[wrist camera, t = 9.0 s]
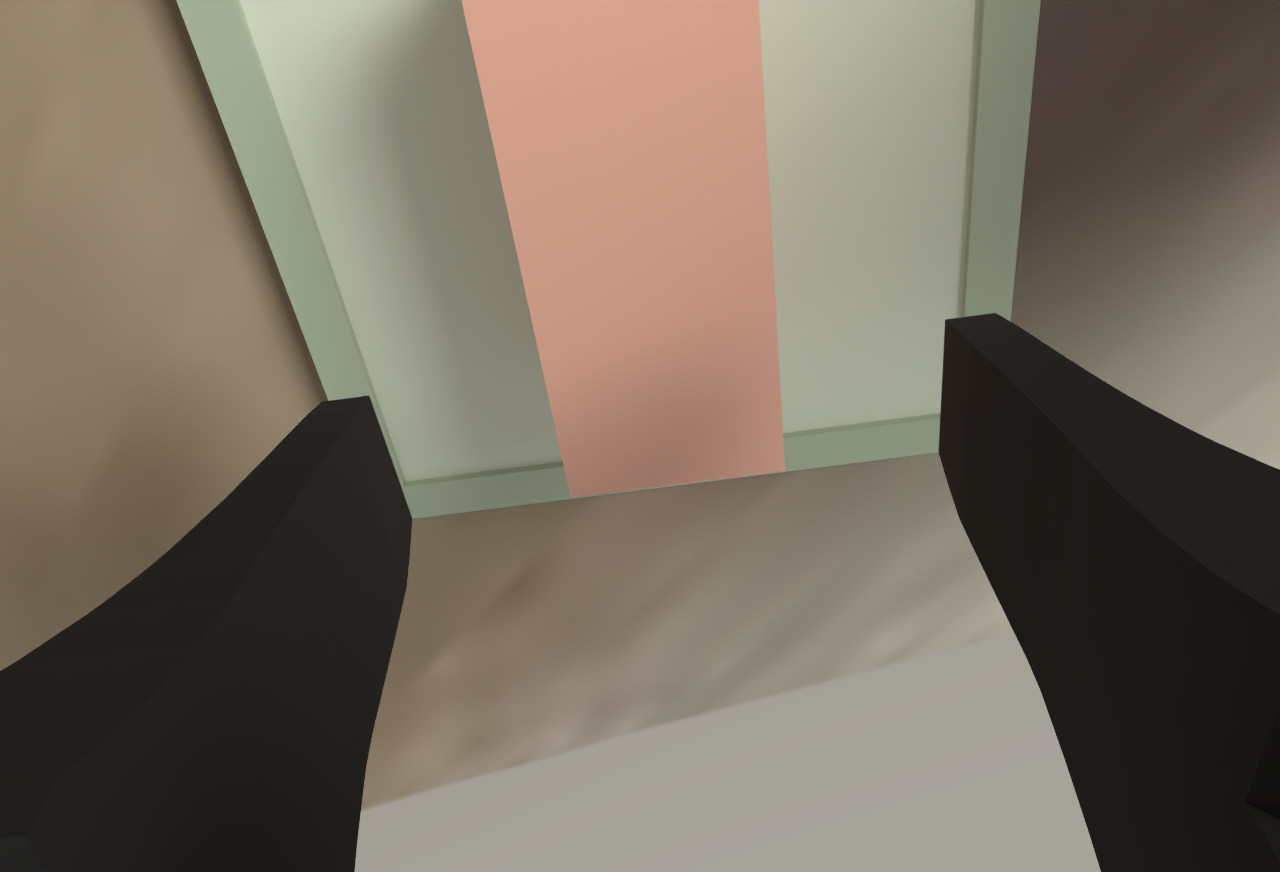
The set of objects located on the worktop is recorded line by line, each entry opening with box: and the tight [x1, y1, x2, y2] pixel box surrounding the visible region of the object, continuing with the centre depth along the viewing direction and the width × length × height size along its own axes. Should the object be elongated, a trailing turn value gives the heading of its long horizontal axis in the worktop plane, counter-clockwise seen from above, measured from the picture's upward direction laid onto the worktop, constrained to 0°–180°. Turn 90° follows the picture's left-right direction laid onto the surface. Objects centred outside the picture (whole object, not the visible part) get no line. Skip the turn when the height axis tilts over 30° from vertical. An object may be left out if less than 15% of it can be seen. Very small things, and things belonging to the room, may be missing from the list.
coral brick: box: [461, 0, 785, 497], centre depth 18 cm, size 4×9×4 cm, turn 7°
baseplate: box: [176, 0, 1041, 519], centre depth 20 cm, size 15×16×1 cm
